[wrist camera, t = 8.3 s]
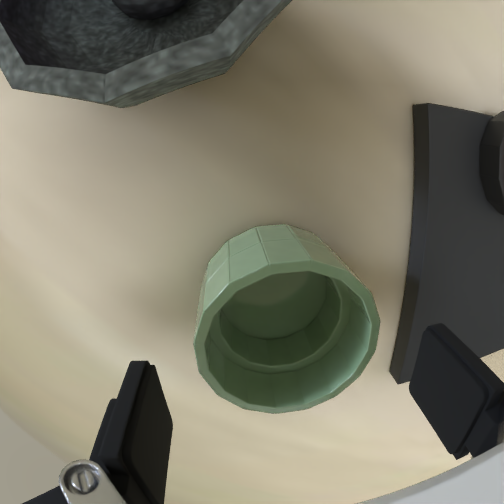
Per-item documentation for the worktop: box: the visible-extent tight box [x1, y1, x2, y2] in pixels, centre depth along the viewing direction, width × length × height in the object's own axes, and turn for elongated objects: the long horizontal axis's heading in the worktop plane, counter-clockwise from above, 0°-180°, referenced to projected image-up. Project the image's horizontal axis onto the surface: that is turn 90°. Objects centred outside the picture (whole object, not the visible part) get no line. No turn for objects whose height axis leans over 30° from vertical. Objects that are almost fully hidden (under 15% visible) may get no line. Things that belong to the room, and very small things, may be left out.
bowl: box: [193, 224, 380, 414], centre depth 13 cm, size 7×7×5 cm
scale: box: [390, 103, 504, 384], centre depth 15 cm, size 16×13×3 cm
